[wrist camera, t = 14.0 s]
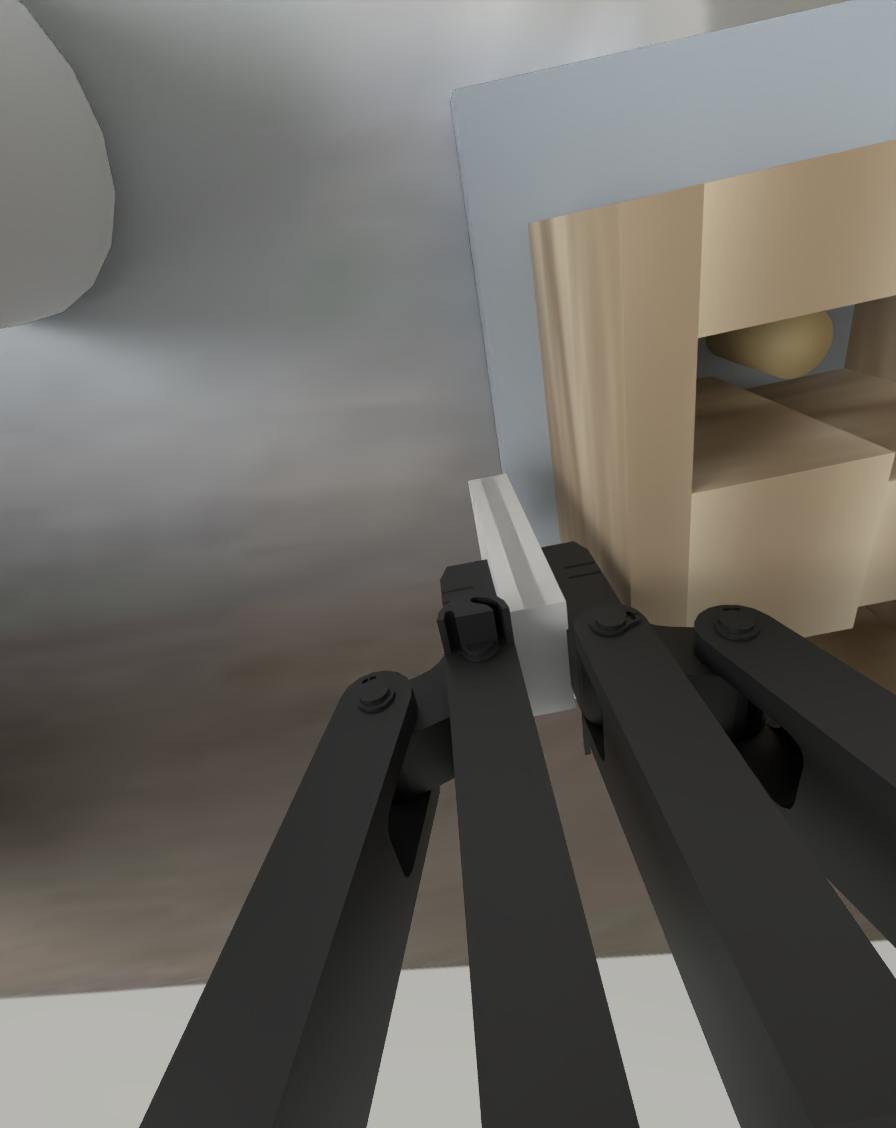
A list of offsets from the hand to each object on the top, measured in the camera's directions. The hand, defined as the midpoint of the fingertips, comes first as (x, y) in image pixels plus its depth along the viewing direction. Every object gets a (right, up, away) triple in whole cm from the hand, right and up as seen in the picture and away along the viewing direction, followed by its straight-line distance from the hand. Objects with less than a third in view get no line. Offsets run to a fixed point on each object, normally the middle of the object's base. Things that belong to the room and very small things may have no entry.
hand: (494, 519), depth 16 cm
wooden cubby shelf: (+7, +3, +1) cm, 7 cm away
